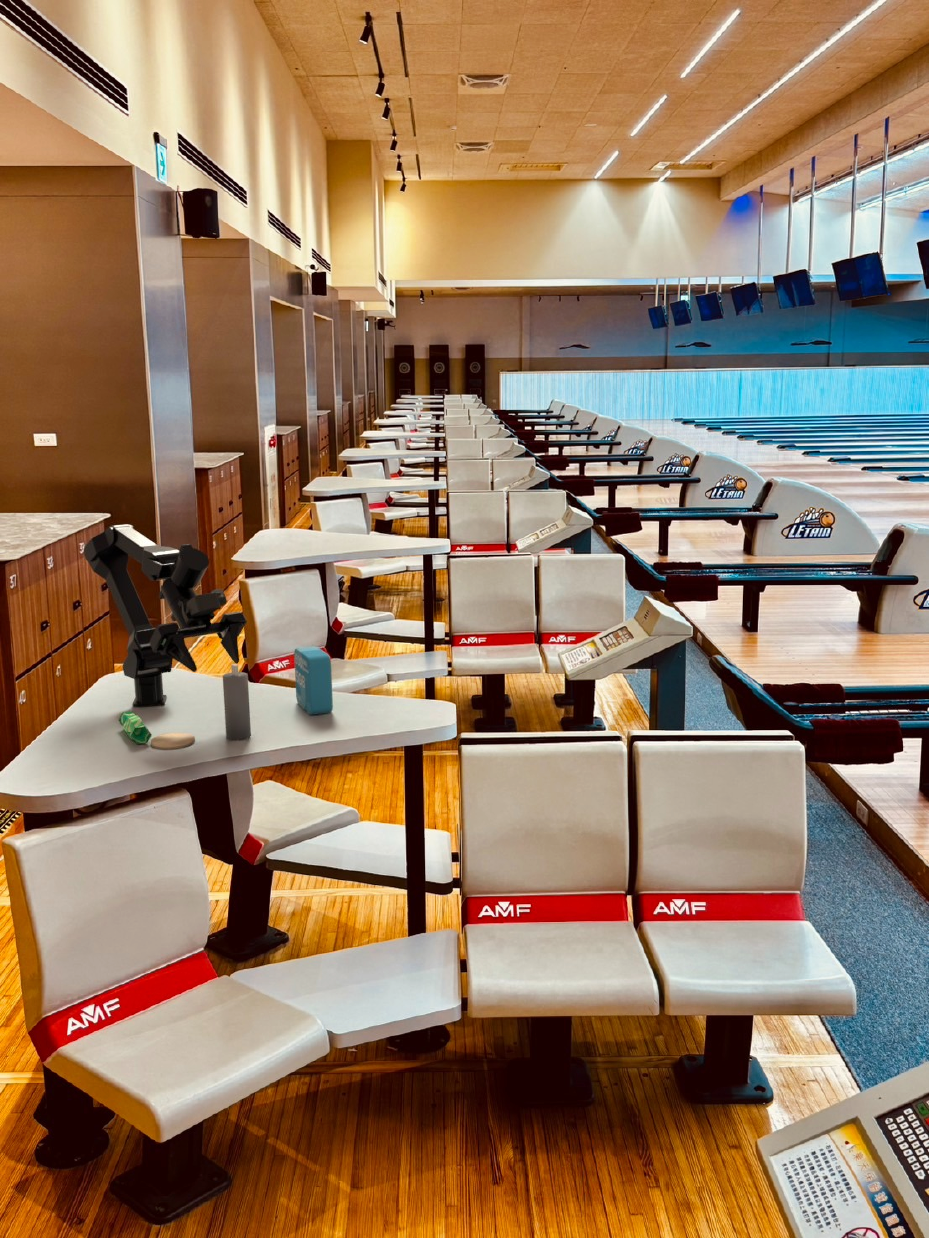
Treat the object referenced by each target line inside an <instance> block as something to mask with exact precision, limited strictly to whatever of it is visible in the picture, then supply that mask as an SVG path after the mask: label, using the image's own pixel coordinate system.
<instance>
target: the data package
mask: <svg viewBox="0 0 929 1238" xmlns="http://www.w3.org/2000/svg"><path fill="white" fill-rule="evenodd" d="M293 655H294V674H295V675H294V677H295V695H296V696H295V697H296V701H297V704H298V705H299V706H300V707H301V708H302V709H304V711H306V713H308V714H309V715H310V716H312V715H319V714H321V715H322V714H327V713H332V712H333V709H334V705H333V701H334V699H333V678H332V677H333V675H332V661H331V656H330V655H329V654H328V653H327V652H325V651H323V650H322V648H320V647H318V646H317V645H312V646H303V647H295V648H294V653H293Z"/></svg>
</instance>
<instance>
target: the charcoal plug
mask: <svg viewBox="0 0 929 1238" xmlns="http://www.w3.org/2000/svg"><path fill="white" fill-rule="evenodd" d="M230 666H231V667H230V669H231V672H228V673H225V674H223V675H222V687H223V690H222V691H223V701H224V702H223V703H224V704H223V706H224V707H223V708H224V720H225V721H224V723H225V738H226V739H227V740H229V741H243V740H247V738H248V739H250V738H251V737H250V736H252V734H251V733H252V731H251V729H252V728H251V727H252V726H251V712H250V711H251V710H250V695H249V693H250V692H249V676H248V675H249V674H248V673H246V672H242V671H241V672H239V665H238V664H236V663H231V665H230ZM249 737H250V738H249Z"/></svg>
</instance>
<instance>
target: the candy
mask: <svg viewBox="0 0 929 1238" xmlns="http://www.w3.org/2000/svg"><path fill="white" fill-rule="evenodd" d="M117 721H118V722H119V723H120V725H121V726H122V727H123V730H124V731H125V733H126V734H127V736H128V737H129V738H130V740H133V742H134V743H135V744H136V745H143V744H148V742H149V741H150V739H151V737H152V733H151V732H150V731H149V729H148V728H147V726H146V724H145V723H144V722H143V720H142V719H141V718H140V717H139V715H136V714H135V713H134V711H122V713H121V715H120V716H119V718H118V720H117Z"/></svg>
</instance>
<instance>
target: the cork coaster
mask: <svg viewBox="0 0 929 1238" xmlns="http://www.w3.org/2000/svg"><path fill="white" fill-rule="evenodd" d="M195 742H196V738H195V735H193V734H191V733H187V732H186V733H185V732H172V733H163V734H161V735H157V736H155V737H153V738H152V739H151V740H150V745H151V747H152V748H154V749H155V748H156V749H159V750H160V749H161V750H173V749H181V748H185V747H188V746H190V745H193V744H194V743H195Z"/></svg>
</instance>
